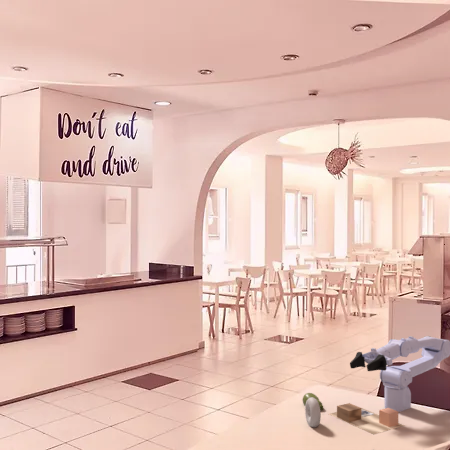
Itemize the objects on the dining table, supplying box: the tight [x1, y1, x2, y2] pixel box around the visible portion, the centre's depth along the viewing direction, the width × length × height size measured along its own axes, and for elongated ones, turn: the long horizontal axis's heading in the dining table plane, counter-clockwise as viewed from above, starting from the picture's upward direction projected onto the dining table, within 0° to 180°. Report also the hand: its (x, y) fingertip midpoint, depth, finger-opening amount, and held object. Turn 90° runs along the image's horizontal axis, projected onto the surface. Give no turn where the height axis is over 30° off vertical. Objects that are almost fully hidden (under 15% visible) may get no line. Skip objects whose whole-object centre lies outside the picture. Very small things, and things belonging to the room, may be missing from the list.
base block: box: [336, 402, 362, 423], centre depth 197 cm, size 6×6×4 cm
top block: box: [378, 407, 399, 427], centre depth 192 cm, size 4×4×4 cm
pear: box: [302, 392, 324, 411], centre depth 210 cm, size 6×5×10 cm
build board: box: [328, 407, 405, 435], centre depth 196 cm, size 15×22×1 cm
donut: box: [304, 397, 321, 428], centre depth 191 cm, size 10×4×10 cm, turn 8°
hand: (359, 366), depth 196 cm, fingers open, 7 cm apart
